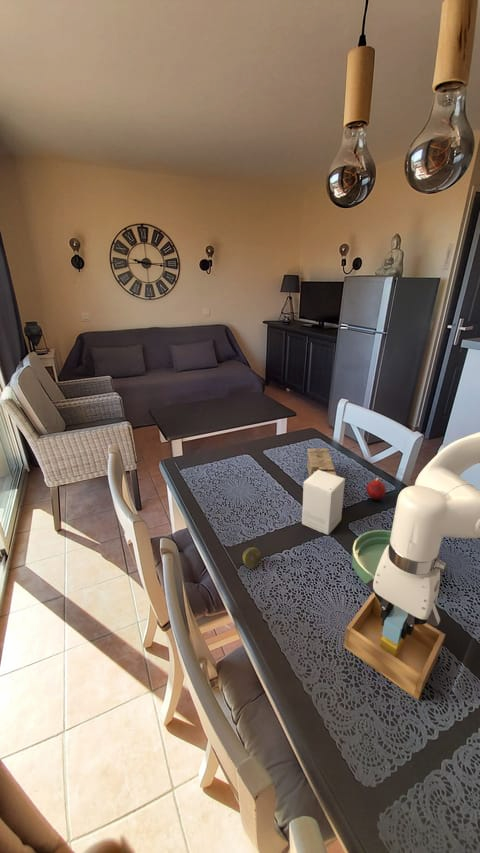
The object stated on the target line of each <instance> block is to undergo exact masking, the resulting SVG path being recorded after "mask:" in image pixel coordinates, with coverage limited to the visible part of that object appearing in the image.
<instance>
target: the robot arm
mask: <svg viewBox="0 0 480 853" xmlns="http://www.w3.org/2000/svg"><path fill="white" fill-rule="evenodd" d="M477 464H480V431H477V432H475V433H472V434H470V435H466V436H464V437H462V438H460V439H456V440H454V441H453V442H451V443H449V444H447V445H446V446H444V448H442V449H441V450H439V452H438V453H437V454H436V455H434V457H432V459H431V460H430V461H428V462H427V464H426V465H425V466H424V467H423V468H422V469H421V471H420V472H419V474H417V475H418V476H417V477H416V480H415V482H414V485H410V486H406V487H405V488H403V489H401V491H400V492H399V494H398V496H397V499H396V505H395V510H394V516H393V520H392V526H391V531H392V532H391V537H390V542H389V545H388V546H387V547H386V549H385V550H384V552H383V554H382V557H381V559H380V562H379V564H378V567H377V570H376V574H375V576H374V577H373V578H371V579H370V580H369V581H368V583H367V584H366V587H367V588H368V589H369V590H370V591H371V592H372V593H375V596H376V598H377V599H378V601H379V602H380V607H381V609H382V611H381V616H380V617H381V618H383V620H382V626H383V627H384V622H385V619H386V618H387V617H388V615H389V614H390V612H391V611H392V609H393V608H394V605H396V606H397V607H399V608H401V609H403V610H404V611H406V612H408V617H407V618H406V620H405V622H404V623H403V629H402V633H401V638H402V639H405V637H406V636H407V634H408V635H410V636H411V634H412V632H413V630H414V626H415V625H420V624H425V623H427V624H429V625H430V626H432V627H438V626H439V625H440V623H441V617H440V615H439V612H438V609H437V606H436V604H437V601H438V597H439V591H440V585H441V571H442V572H444V571H445V569H446V567H447V563H446V562H444V561H443V560H442V559H440V548H441V545H442V541H443V539H444V538H454V539H455V538H456V539H457V538H458V539H480V489H478V488H477V487H476V486H474V485H473V484H471V483H470V482H469V481H467V480H466V479H464V478H462V477H461V475H462V474H463V473H465V471H467V470H468V469H469V468H471V467H473V466H476V465H477Z"/></svg>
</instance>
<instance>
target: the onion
mask: <svg viewBox="0 0 480 853" xmlns="http://www.w3.org/2000/svg"><path fill="white" fill-rule="evenodd" d="M365 491H366V495H367V496H368V497H369V498H370V499H372V500H374V501H377V500H380V499H382V498H383V497H384V496H385V494H386V486H385V484H384V483H383V482H382V481H380V478H379V477H376V478H375V479H374V480H371V481H370V482H369V483H368V484H367V485H366V490H365Z"/></svg>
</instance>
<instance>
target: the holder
mask: <svg viewBox="0 0 480 853" xmlns="http://www.w3.org/2000/svg"><path fill="white" fill-rule="evenodd" d="M394 606H395V605H394ZM381 611H382V609H381V607H380V602H379V601H378V599H377V598H376V596H375V593H373V592H372V593H370V595H369V597H368V598H367V599H366V601H365V602H364V603H363V605H362V606H361V607H360V609H359V610H358V611H357V613H356V614H355V615H354V617H353V618H352V619H351V621H350V622H349V624H348V625H347V626H346V628H345V634H344V642H343V647H344V648H345V649H346V650H347V651H348V652H350V653H351V654H353V655H354V656H356V657H357V658H359V659H360V660H361V661H363V662H364V663H365V664H367V665H368V666H370V668H373V669H374V670H375V671H376V672H378V673H379V674H381V675H382V676H383V677H385V678H386V679H388V680H389V681H391V682H392V683H393V684H395V686H397V687H399V688H400V689H401V690H403V691H404V692H406V693H407V694H409V695H410V696H411V697H412V698H414V699H415V700H416V701H419V700H420V698H421V696H422V694H423V692H424V690H425V687H426V685H427V682H428V680H429V678H430V676H431V675H432V674H431V673H432V671H433V670H434V667H435V665H436V663H437V660H438V658H439V657H440V654H441V651H442V648H443V645H444V641H445V638H446V633H444V632H442V631H441V630H438V628H435V626H433V625H429V624H427V623H425V624H420V625H415V626H414V630H413V632H412V634H411V636H410V635H408V634H407V636H406V637H405V640H404V645H403V646H402V648H401V650H400V652H399V653H398V655H397V657H394V656H393V655H391V654H390V653H388V652H387V651H385V650H384V649H382V648H381V647H380V642H381V638H382V637H383V635H382V632H383V626H382V620H383V618H381V617H380V616H381Z"/></svg>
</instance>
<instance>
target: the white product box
mask: <svg viewBox="0 0 480 853" xmlns="http://www.w3.org/2000/svg"><path fill="white" fill-rule="evenodd" d="M302 483H303V484H302V485H303V487H302V488H303V491H302V511H301V513H302V514H301V524H302V525H303V526H306V527H307V528H310V529H312V530H315V531H317V532H319V533H323V534H325V535H327V536H329V535H330V534H331V533H332V532H333V530H335V529H336V528H337V526H338V525H339V523H340V522H342V516H343V504H344V494H345V485H346V478H344V477H341V476H338V475H337V476H335V475H332V474H329V473H326V472H324V471H321V470H317V471H316V472H315V473H314V474H313V475H311V476H310V477H309V476H308V477H307V478H306V479H305V480H304V481H303V482H302Z"/></svg>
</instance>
